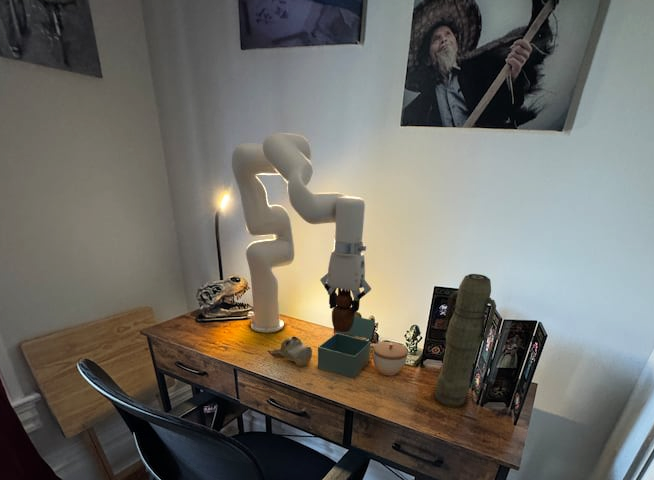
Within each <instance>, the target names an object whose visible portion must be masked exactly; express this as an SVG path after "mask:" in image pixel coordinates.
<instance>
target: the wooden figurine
mask: <svg viewBox="0 0 654 480" xmlns="http://www.w3.org/2000/svg"><path fill="white" fill-rule="evenodd" d="M353 300H354V298H353V296H352V291H349V290H345V289H340V288H337V297H336V306H335V307H334V308H332V310H331V322H332V326H333V330H334V329H335V330H337V331H340V332H347V331H349V330H350V329H351V328H352V325H353V322H354V317H355V313H354V314H352V313H351V310H352V301H353Z"/></svg>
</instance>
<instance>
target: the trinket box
mask: <svg viewBox="0 0 654 480" xmlns="http://www.w3.org/2000/svg"><path fill="white" fill-rule="evenodd" d="M372 351H373V353H372V361H373V364H374V366H375V368H376V369H377V371H378V372H379V374H381V375H384V376H394V375H397V374H398V373H399V372H400V371H402V370H403V369H404V367H405V365H406V362H407V359H408V355H409V350H408V348H407V347H406V346H405V345H404V344H401V343H399V342H394V341H381V342H378V343H376V344H375V345H373V349H372Z"/></svg>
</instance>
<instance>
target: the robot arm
mask: <svg viewBox="0 0 654 480" xmlns="http://www.w3.org/2000/svg"><path fill="white" fill-rule="evenodd" d="M311 160H312V148H311V145H310V141H308V140H307V138H306V137H304V136H303V135H301V134H296V133H285V132H273V133H271V134H268V135H267V136H266V138H265V139H264V140H263V143H262V142H261V143H260V142H244V143H240V144H238V145H237V146H236V147H235V148H234V149H233V151H232V155H231V168H232V173H233V176H234V179H235V182H236V185H237V187H238V190H239V194H240V200H241V206H242V211H243V218H244V224H245V227H246V231H247V232H248V234H249V235H250V236H252V237H267V236H273V238H272V239H262V240H256V241H253V242H251V243H250V244H249V245H248V246H247V247H246V250H245V257H246V261H247V265H248V269H249V274H250V282H251V294H252V295H251V296H252V308H253V311H250V310H249V311H248V312H247V315H246V318H247V319H249V320H251V323H250V328H251V329H252V330H253V331H255V332H257V333H264V334H267V333H275V332H279V331H281V330H282V329H283V328H284V326H285V323H284V321H283V320H281V318H280V298H279V297H280V295H279V294H280V293H279V281H278V278H277V276H276V275H275V273H274V272H273V270H272V269H275V268H281V267H285V266H289V265H291V264H292V263H293V261H294V260H295V244H294V235H293V228H292V227H293V226H292V221H291V216H290V214H289V212H288V210H287V209H286V208H285V207H284V206H282V205H280V204H269V200H268V194H267V190H266V187H265V186H264V183H262V181H261V180H260V179H259V177H258V176H281V178H282V179H283V180H284V181H285V182H286V184H287V187H286V189H287V190H286V191H287V196H288V197H287V198H288V201H289V203H290V206H291V207H292V208H293V210H294V211H295V212H296V213H297V214H298V215H299V217H300V218H301V219H302V220H303V221H305V222H306V223H308V224H311V225H323V224H324V225H325V224H332V223H334V238H333V239H334V241H333V250H331V253H330V256H329V261H328V268H327V273H325V274H324V276H322V277H321V278H320V280H319V281H320V282H321V284H322V286H323V287H324V289H325V290H326V292H327V296H328V304H329V309H332V310H333V308H334V307H335V306H337V305H336V297H337V295H338V292H336V291H338V288H340V289H341V290H342V289H345V290H349V291H351V295H352V298H353V301H352V305H351V307H352V310H351V313H352V314H354V313H356V312H359V309H360V301H361V299H362V298H363V297H365V296H366V295H367V294H368V293H370V292H372V287H371V286H370V285H369V283H368V282H367V281H366V264H365V263H366V261H365V259H366V258H365V254H364V252H366V250H367V246H366V245H365V244H363V234H364V222H365V210H366V202H365V200H364V199H363V198H362V197H358V196H351V195H348V194H345V193H342V192H337V191H335V192H333V191H332V192H328V191H327V192H313V191H311V190H310V189H309V188H308V187H307V186H308V185H309V184H310V183H311V181H312V179H313V178H314V177H313V176H314V166H313V163H312V162H311ZM362 288H363V290H362V291H361V289H362Z"/></svg>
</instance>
